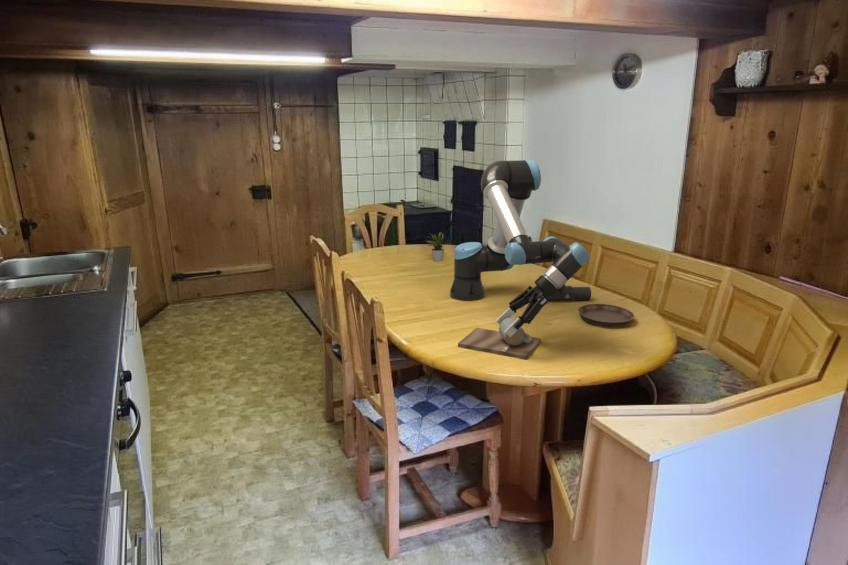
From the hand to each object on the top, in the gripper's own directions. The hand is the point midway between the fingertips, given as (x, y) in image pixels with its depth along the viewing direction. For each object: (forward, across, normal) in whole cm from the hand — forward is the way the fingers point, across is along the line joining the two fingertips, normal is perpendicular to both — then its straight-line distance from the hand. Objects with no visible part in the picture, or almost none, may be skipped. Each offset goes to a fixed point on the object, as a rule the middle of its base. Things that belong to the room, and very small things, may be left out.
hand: (502, 328), depth 186 cm
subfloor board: (+5, +2, -4) cm, 7 cm away
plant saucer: (-28, +21, -38) cm, 52 cm away
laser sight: (-23, +47, -33) cm, 62 cm away
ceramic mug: (0, 0, -7) cm, 7 cm away
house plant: (+6, +129, -4) cm, 129 cm away
